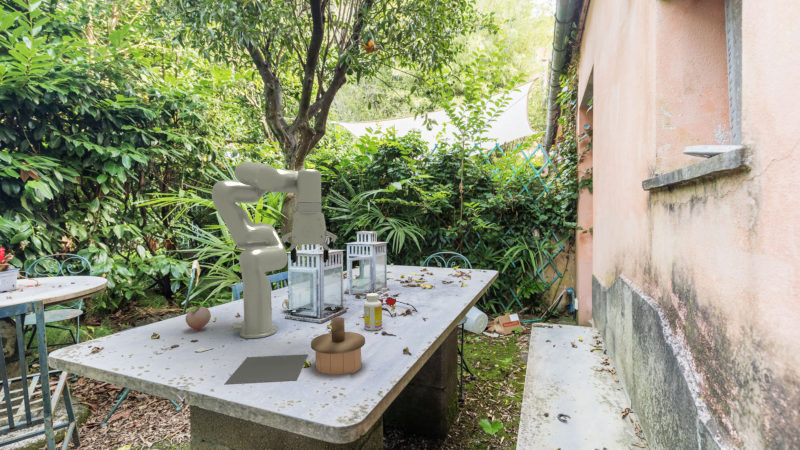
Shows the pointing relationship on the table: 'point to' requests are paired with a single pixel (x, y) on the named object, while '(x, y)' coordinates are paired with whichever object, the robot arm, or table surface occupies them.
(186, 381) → the table surface
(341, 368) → the bowl
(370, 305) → the supplement bottle
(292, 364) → the mat
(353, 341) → the lid
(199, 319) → the decorative fruit
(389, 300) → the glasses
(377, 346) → the table surface
